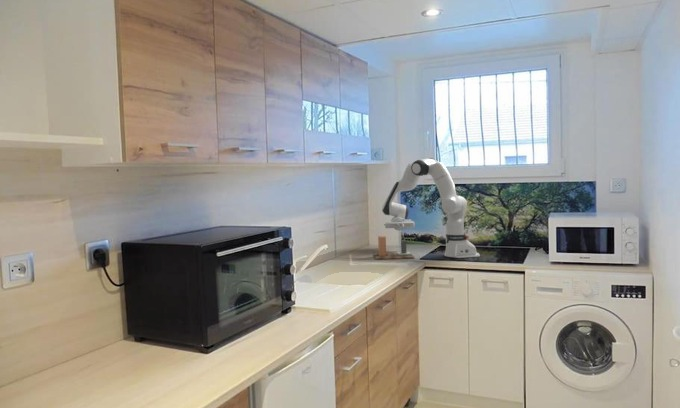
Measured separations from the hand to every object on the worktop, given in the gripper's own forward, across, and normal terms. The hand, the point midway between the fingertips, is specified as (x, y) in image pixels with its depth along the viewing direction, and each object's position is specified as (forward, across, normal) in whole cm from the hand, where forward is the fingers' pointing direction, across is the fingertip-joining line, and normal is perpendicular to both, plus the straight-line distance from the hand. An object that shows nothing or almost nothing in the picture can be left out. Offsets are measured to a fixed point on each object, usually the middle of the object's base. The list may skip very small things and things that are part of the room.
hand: (400, 226), depth 340 cm
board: (+14, -7, +19) cm, 25 cm away
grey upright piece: (+12, 0, +17) cm, 21 cm away
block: (+12, -14, +18) cm, 26 cm away
